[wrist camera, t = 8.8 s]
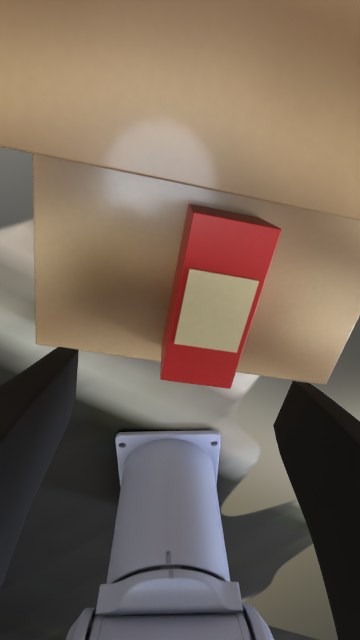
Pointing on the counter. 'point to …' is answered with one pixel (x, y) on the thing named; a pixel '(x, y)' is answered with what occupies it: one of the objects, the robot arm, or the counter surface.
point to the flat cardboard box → (188, 163)
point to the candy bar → (215, 294)
